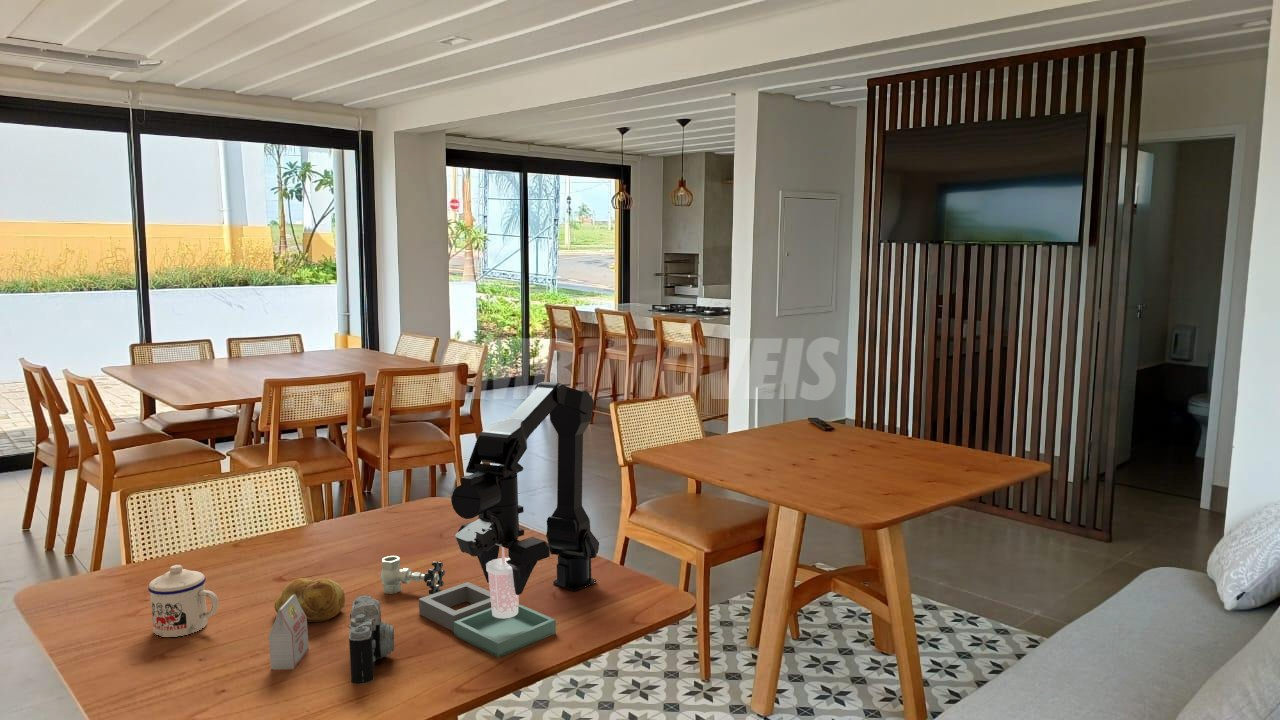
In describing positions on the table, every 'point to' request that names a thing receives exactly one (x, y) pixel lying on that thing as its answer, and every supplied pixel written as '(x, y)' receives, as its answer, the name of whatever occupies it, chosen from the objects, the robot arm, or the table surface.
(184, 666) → the table surface
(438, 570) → the valve
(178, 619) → the teacup with lid
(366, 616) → the camera
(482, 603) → the holder block
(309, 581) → the bread roll
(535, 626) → the tray
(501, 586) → the beverage cup
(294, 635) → the milk carton
